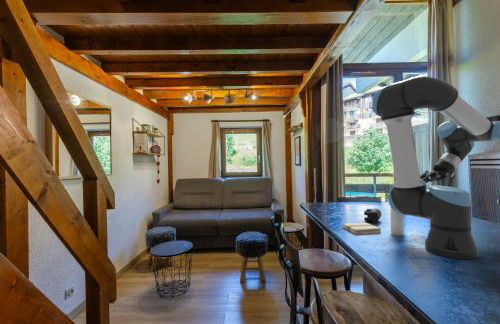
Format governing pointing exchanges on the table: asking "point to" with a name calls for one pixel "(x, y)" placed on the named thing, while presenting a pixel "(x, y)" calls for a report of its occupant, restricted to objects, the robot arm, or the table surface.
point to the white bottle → (396, 223)
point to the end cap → (372, 215)
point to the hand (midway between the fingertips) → (418, 198)
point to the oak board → (361, 228)
